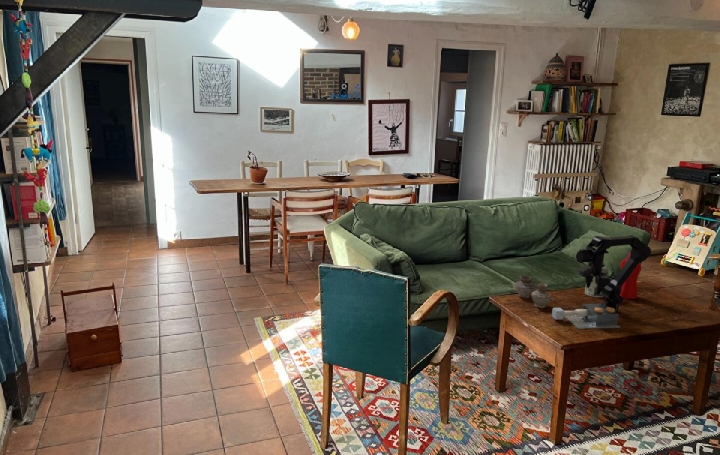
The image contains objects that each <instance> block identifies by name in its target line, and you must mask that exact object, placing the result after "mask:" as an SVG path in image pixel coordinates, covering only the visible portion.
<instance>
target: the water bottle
mask: <svg viewBox="0 0 720 455" xmlns="http://www.w3.org/2000/svg"><path fill="white" fill-rule="evenodd" d="M630 253H631V252H628V254H627V257H626V258H624V259H623V260H622V261H621V262H620V266H619V267H620V270H621V269H622V267H623V266H624V265H625V263H626V262H627V261H628V260H629V258H630ZM641 271H642V262H640V263H639V264H638V265H637V267H636V268H635V269H634V271H633V272H632V273H631V275H630V276H629V277H628V278H627V280H626V281H625V282H624V284H623V285H622V289H621V293H620V296H621V298H622V299H623V300H624V299H625V300H633V299H636V298H637V296H638V278H639V276H640V273H641Z"/></svg>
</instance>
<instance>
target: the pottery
mask: <svg viewBox="0 0 720 455" xmlns="http://www.w3.org/2000/svg"><path fill="white" fill-rule="evenodd" d="M532 280H533V278H532V276H528V275H520V276H519V281H516V282H514V288H515V291H516V292H517V293H518V296H519V297H521V298H526V299H528V298H530V297H531V299H532V301H533V302H534V307H536V308H538V307H539V308H540V309H544V307H545V308H546V307H547V306H546V305H547V304H549V303H550V300H551V298H552V295H551V294H550V293H549V292H548V291H547V289H548V284H547V283H541V282H539V283H537V285H536V284H535V283H533V282H532ZM536 288H537V289H536Z"/></svg>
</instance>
